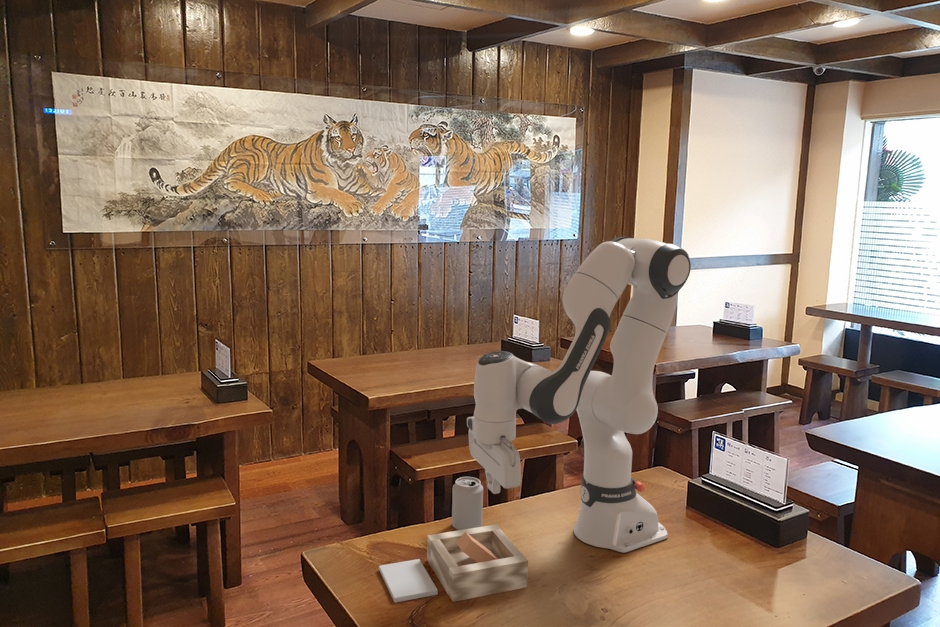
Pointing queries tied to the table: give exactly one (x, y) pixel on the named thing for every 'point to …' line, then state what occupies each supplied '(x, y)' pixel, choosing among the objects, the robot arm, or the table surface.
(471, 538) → the bar
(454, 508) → the can
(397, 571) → the mat
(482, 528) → the pocket block
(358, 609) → the table surface
